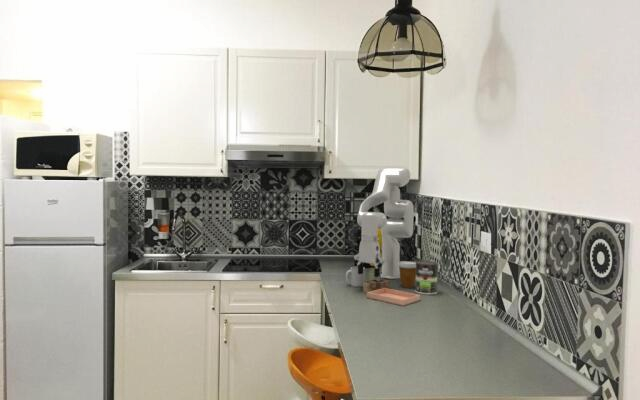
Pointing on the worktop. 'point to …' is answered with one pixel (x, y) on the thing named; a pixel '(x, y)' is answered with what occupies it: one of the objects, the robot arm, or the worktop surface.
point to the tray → (393, 296)
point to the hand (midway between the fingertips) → (368, 275)
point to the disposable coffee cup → (407, 273)
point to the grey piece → (379, 278)
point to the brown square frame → (375, 285)
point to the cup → (355, 277)
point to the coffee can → (426, 277)
